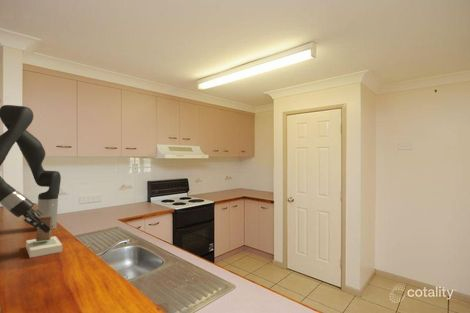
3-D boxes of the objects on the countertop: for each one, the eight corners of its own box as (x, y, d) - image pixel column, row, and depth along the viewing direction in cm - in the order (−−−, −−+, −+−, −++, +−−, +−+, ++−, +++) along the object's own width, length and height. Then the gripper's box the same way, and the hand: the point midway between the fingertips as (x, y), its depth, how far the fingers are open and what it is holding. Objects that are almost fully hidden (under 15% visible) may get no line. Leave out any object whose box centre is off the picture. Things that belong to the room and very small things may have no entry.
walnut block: (38, 238, 112) (40, 216, 112) (51, 237, 114) (52, 215, 114) (36, 241, 108) (37, 218, 108) (49, 240, 110) (50, 217, 110)
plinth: (25, 247, 113) (26, 240, 113) (55, 242, 121) (55, 235, 121) (30, 257, 102) (30, 249, 102) (62, 251, 109) (62, 244, 109)
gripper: (20, 200, 102) (54, 227, 107) (30, 195, 115) (60, 219, 120) (2, 213, 99) (38, 241, 105) (14, 207, 112) (46, 231, 117)
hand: (49, 229), depth 112 cm, fingers closed on walnut block, 4 cm apart
